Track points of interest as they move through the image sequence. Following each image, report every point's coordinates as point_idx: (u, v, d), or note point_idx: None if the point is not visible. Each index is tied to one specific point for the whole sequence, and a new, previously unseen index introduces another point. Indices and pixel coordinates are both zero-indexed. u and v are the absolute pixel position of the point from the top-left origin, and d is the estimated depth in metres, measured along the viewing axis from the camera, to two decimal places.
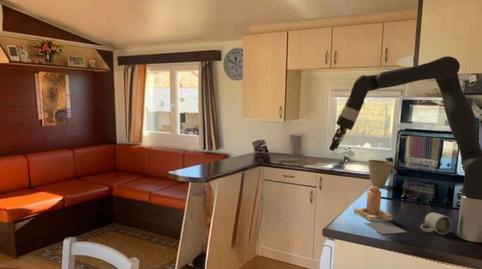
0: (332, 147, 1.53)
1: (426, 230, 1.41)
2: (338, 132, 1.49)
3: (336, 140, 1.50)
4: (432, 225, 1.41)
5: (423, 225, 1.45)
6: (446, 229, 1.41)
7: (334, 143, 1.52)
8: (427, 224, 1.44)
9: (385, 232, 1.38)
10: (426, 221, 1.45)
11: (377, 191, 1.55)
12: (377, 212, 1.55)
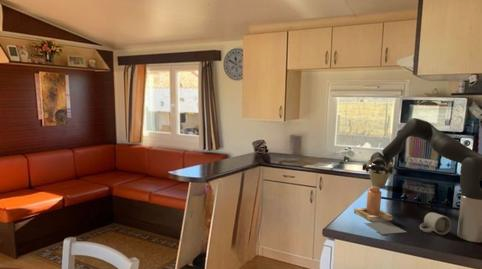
0: None
1: (425, 230, 1.41)
2: None
3: None
4: (431, 225, 1.41)
5: (422, 225, 1.45)
6: (445, 229, 1.41)
7: (365, 168, 1.72)
8: (426, 224, 1.44)
9: (385, 232, 1.38)
10: (425, 221, 1.45)
11: (377, 191, 1.55)
12: (377, 212, 1.55)
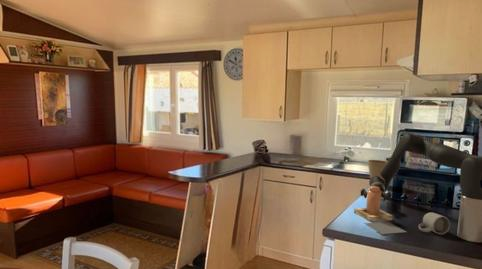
0: None
1: (424, 230, 1.41)
2: None
3: (361, 191, 1.71)
4: (430, 225, 1.41)
5: (421, 225, 1.45)
6: (444, 229, 1.41)
7: (364, 194, 1.69)
8: (425, 224, 1.44)
9: (385, 232, 1.38)
10: (424, 221, 1.45)
11: (377, 191, 1.55)
12: (377, 212, 1.55)
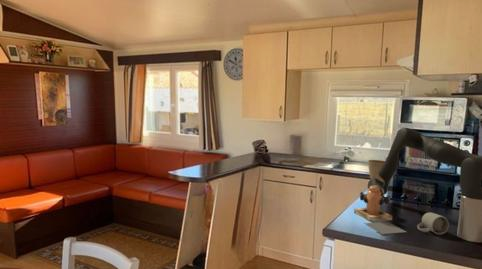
0: None
1: (423, 230, 1.41)
2: None
3: (361, 196, 1.63)
4: (429, 225, 1.41)
5: (420, 225, 1.45)
6: (443, 229, 1.41)
7: (364, 198, 1.60)
8: (424, 224, 1.44)
9: (385, 232, 1.38)
10: (423, 221, 1.45)
11: (377, 191, 1.55)
12: (377, 212, 1.55)
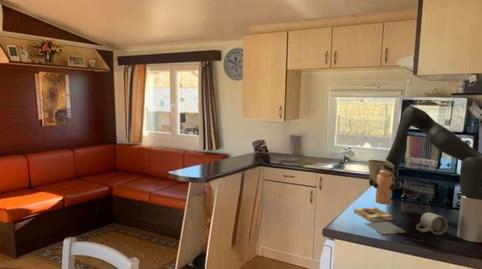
0: None
1: (421, 230, 1.41)
2: None
3: (370, 181, 1.52)
4: (427, 225, 1.41)
5: (419, 225, 1.45)
6: (442, 229, 1.41)
7: None
8: (423, 224, 1.44)
9: (385, 232, 1.38)
10: (422, 221, 1.45)
11: (388, 175, 1.44)
12: (388, 198, 1.44)
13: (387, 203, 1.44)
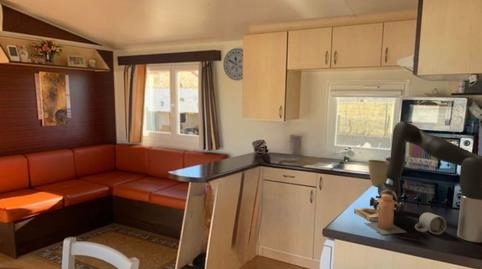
0: None
1: (420, 230, 1.41)
2: None
3: (370, 201, 1.49)
4: (426, 225, 1.41)
5: (417, 225, 1.45)
6: (440, 229, 1.41)
7: (373, 204, 1.46)
8: (421, 224, 1.44)
9: (385, 232, 1.38)
10: (420, 221, 1.45)
11: (390, 200, 1.40)
12: (390, 223, 1.41)
13: (389, 228, 1.41)
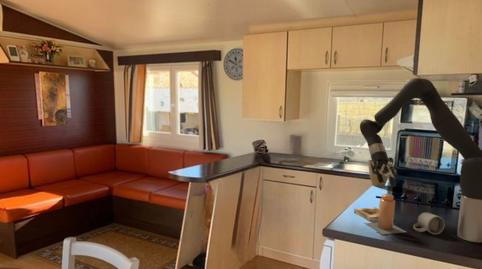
0: None
1: (418, 230, 1.41)
2: (372, 164, 1.60)
3: (375, 170, 1.58)
4: (424, 225, 1.41)
5: (416, 225, 1.45)
6: (439, 229, 1.41)
7: (378, 175, 1.58)
8: (420, 224, 1.44)
9: (385, 232, 1.38)
10: (419, 221, 1.45)
11: (391, 200, 1.41)
12: (390, 223, 1.41)
13: (389, 228, 1.41)
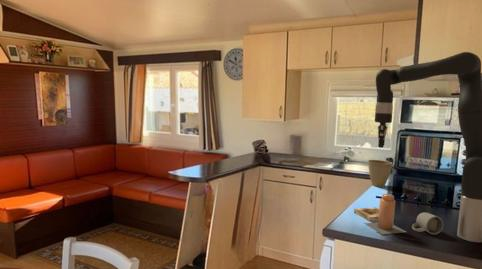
0: None
1: (417, 230, 1.41)
2: (381, 128, 1.53)
3: (382, 136, 1.53)
4: (423, 225, 1.41)
5: (414, 225, 1.45)
6: (437, 229, 1.41)
7: (381, 140, 1.55)
8: (418, 224, 1.44)
9: (385, 232, 1.38)
10: (417, 221, 1.45)
11: (391, 200, 1.41)
12: (390, 223, 1.41)
13: (389, 228, 1.41)
